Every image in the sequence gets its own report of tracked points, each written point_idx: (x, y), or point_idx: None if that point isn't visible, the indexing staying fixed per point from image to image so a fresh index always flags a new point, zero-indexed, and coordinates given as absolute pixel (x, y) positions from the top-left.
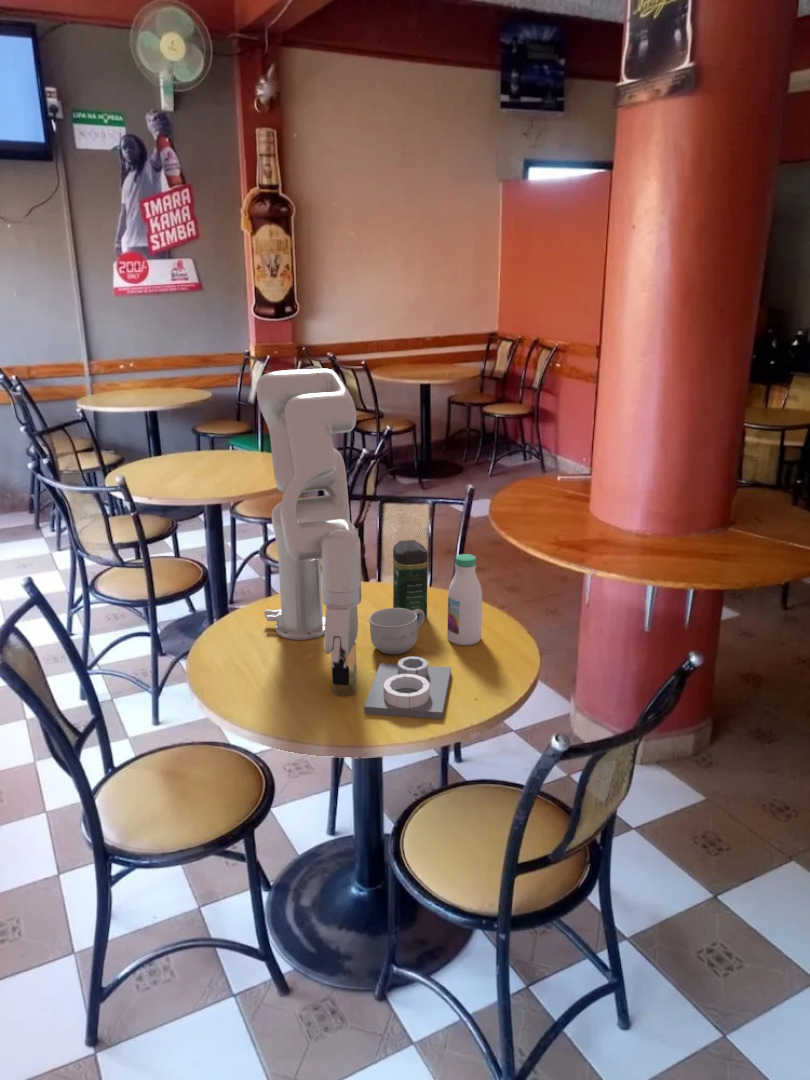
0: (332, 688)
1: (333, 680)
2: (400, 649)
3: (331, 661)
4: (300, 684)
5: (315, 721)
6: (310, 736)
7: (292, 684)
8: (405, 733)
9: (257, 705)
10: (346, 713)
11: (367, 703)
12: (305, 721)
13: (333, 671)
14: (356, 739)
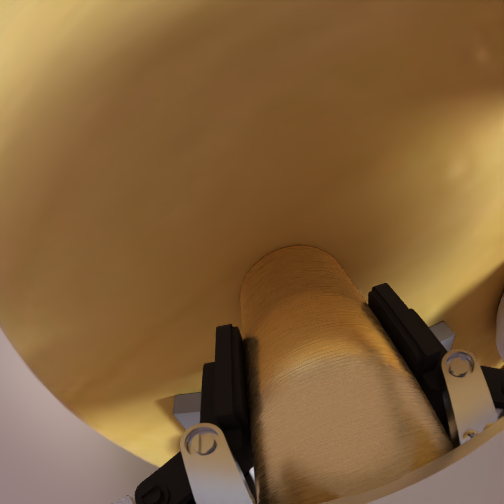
0: (261, 267)
1: (217, 341)
2: (496, 345)
3: (291, 384)
4: (273, 75)
5: (52, 294)
6: (7, 312)
7: (257, 39)
8: (158, 454)
9: (41, 35)
10: (145, 359)
11: (194, 415)
12: (33, 265)
13: (216, 388)
14: (75, 401)
